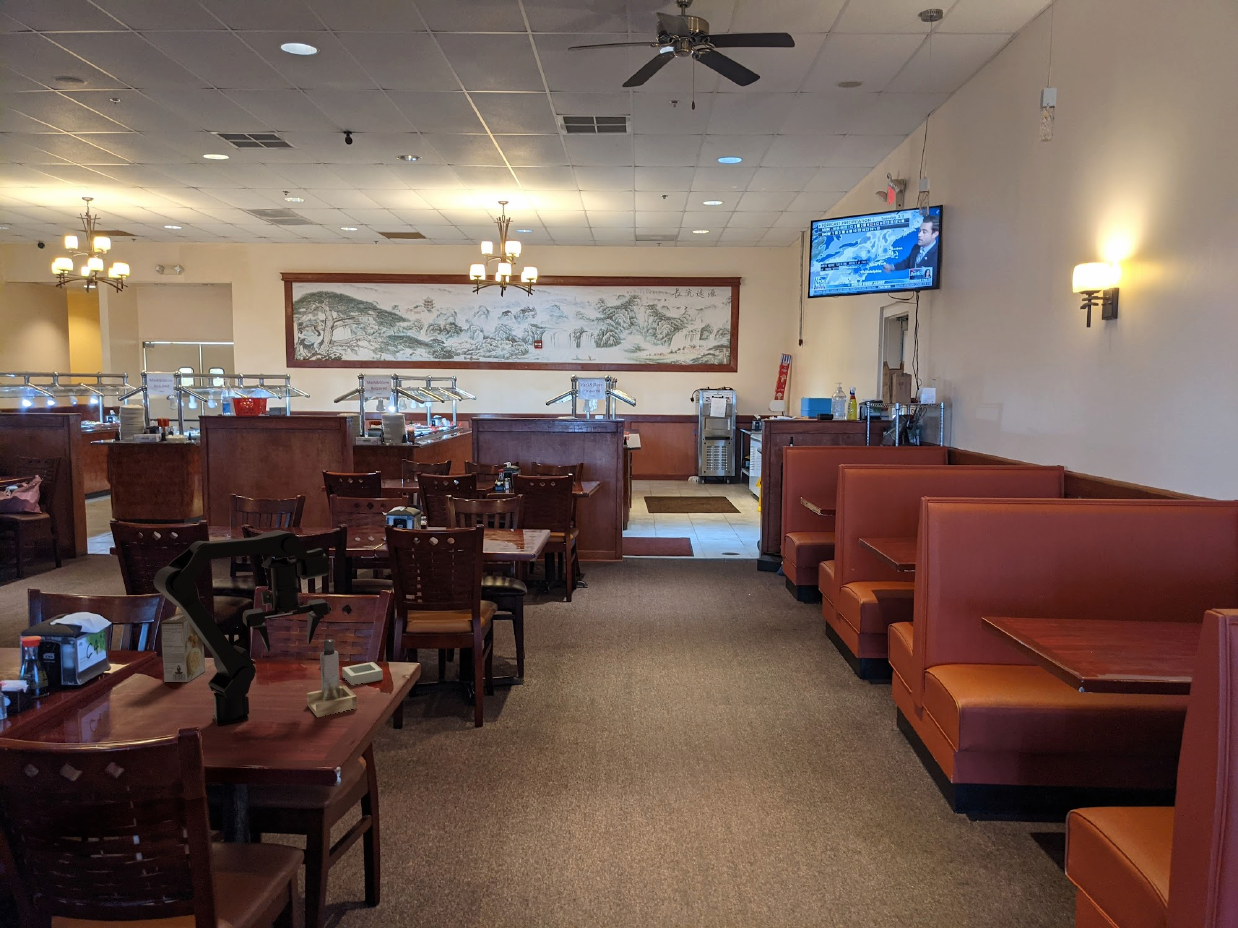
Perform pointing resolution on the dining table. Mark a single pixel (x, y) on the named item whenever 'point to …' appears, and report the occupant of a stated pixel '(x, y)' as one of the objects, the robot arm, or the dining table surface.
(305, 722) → the dining table surface
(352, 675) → the socket block
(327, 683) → the silver and grey cylinder
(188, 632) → the coffee box
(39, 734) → the dining table surface
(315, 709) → the beige square tray
